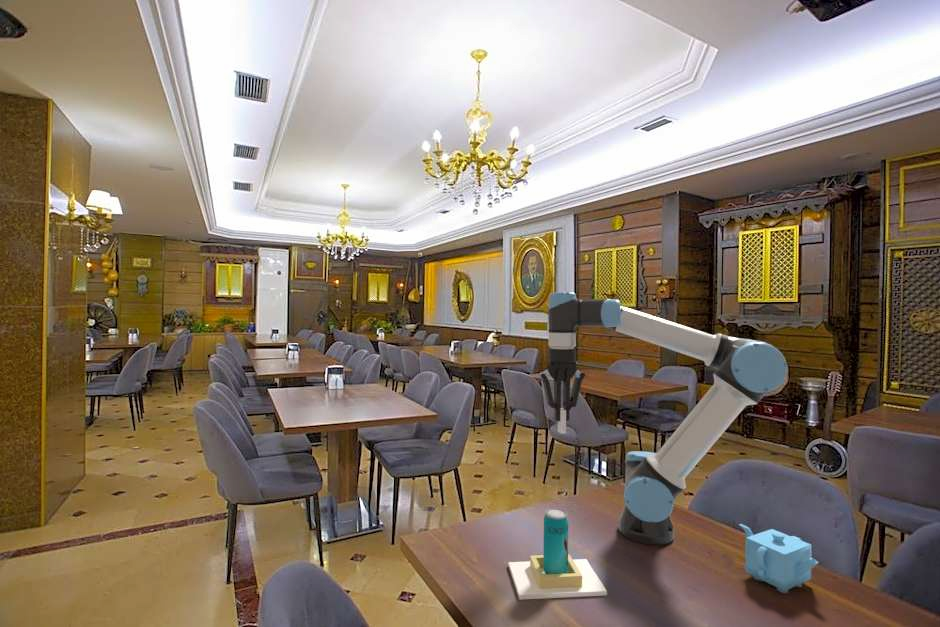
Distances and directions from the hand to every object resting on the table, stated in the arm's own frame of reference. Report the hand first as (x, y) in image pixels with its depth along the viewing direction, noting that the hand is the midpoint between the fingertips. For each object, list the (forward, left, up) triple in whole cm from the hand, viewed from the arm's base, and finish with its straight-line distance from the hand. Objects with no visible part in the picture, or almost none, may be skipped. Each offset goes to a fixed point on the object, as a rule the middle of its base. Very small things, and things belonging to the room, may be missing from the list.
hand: (561, 432), depth 134 cm
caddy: (+7, +19, -30) cm, 36 cm away
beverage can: (+7, +19, -29) cm, 36 cm away
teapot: (-46, +23, -31) cm, 60 cm away
